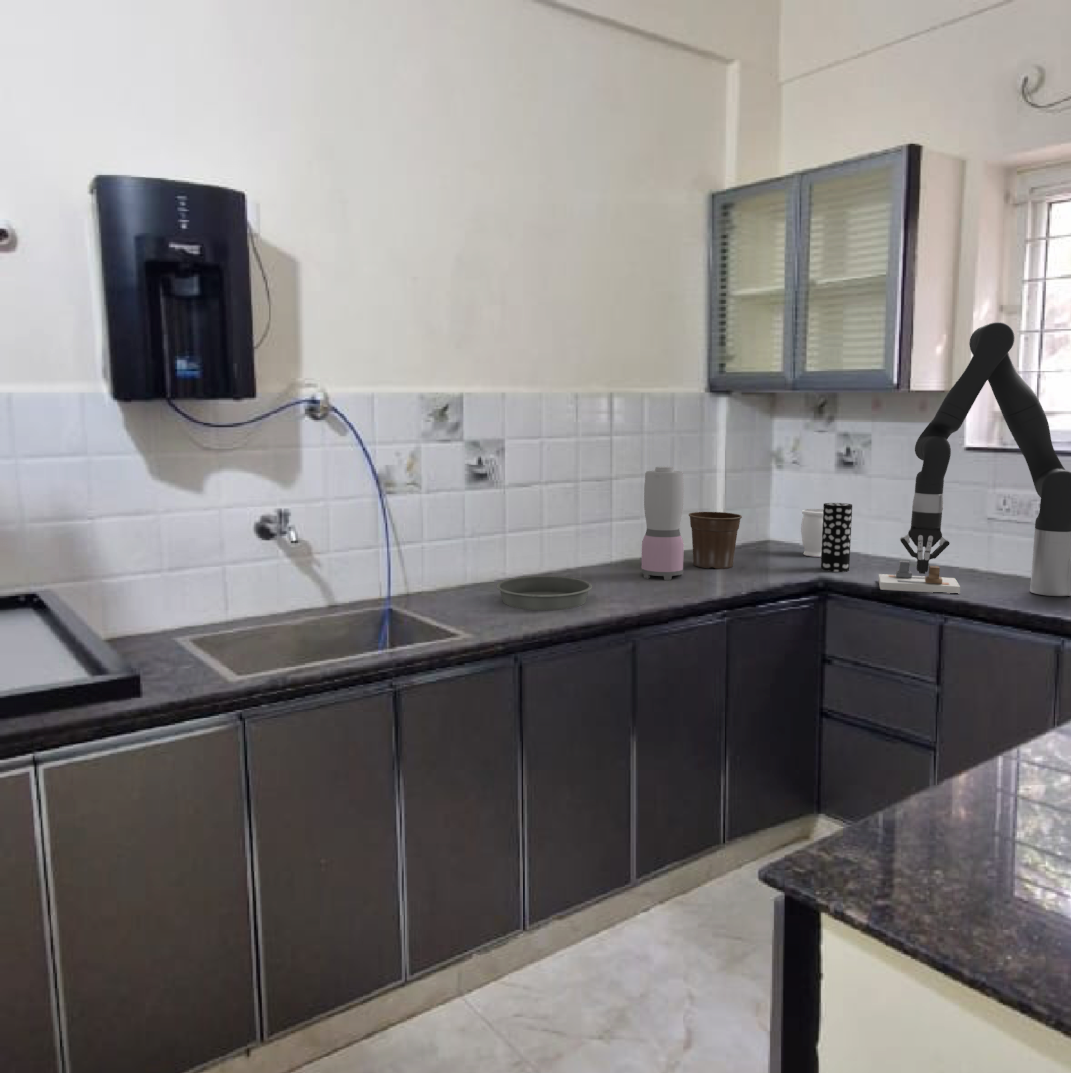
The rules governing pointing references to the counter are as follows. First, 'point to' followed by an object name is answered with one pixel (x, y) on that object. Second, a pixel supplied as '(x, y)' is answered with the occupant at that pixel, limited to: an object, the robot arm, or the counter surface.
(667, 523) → the blender
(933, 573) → the brown tab
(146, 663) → the counter surface
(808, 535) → the jar
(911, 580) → the switch panel
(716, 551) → the plant pot
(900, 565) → the charcoal tab
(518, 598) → the cake pan
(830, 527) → the white-spotted black cylinder
